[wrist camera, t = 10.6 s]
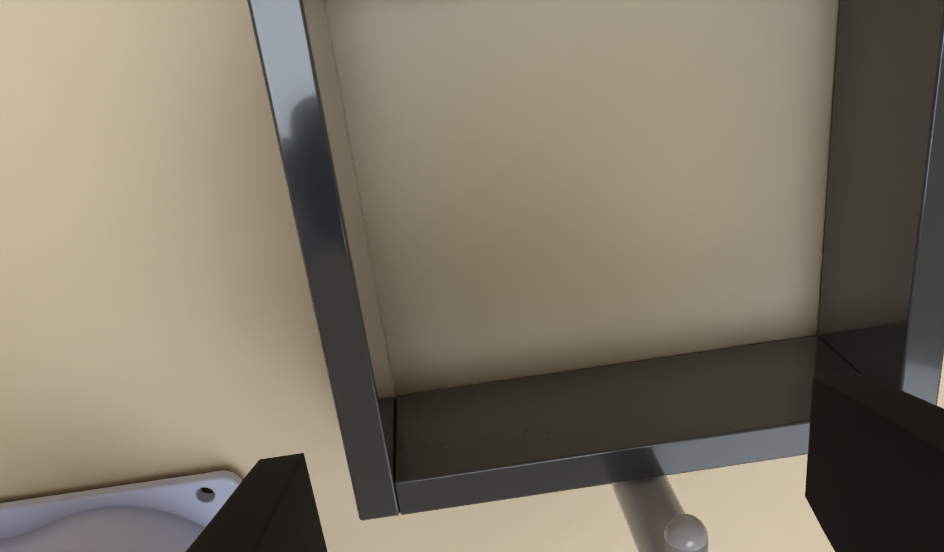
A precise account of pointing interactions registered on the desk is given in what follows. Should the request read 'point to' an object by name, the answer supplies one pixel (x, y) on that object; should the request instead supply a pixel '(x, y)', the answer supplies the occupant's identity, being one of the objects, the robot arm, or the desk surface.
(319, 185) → the sink
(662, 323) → the desk surface
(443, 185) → the desk surface
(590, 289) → the desk surface
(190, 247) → the desk surface
